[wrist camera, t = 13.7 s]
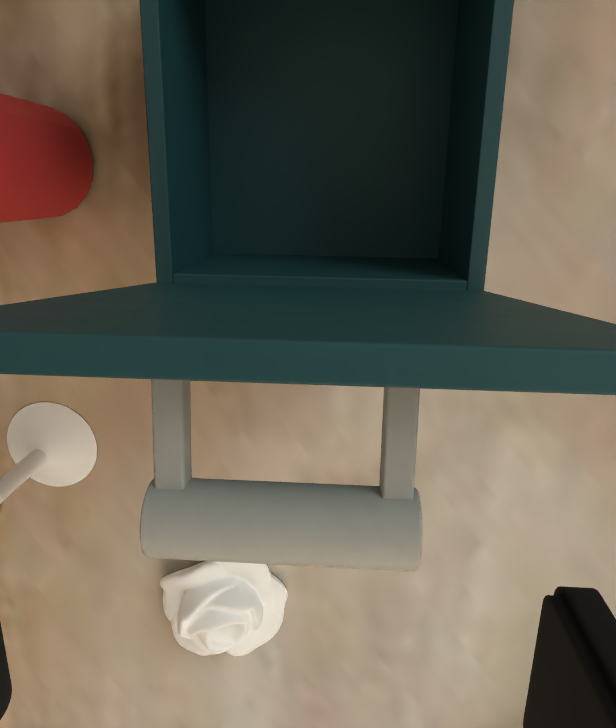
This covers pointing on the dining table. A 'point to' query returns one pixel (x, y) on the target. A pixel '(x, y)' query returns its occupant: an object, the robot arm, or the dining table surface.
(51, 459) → the champagne flute
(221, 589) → the rose
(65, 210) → the beer can
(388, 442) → the case lid
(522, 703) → the dining table surface
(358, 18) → the case
